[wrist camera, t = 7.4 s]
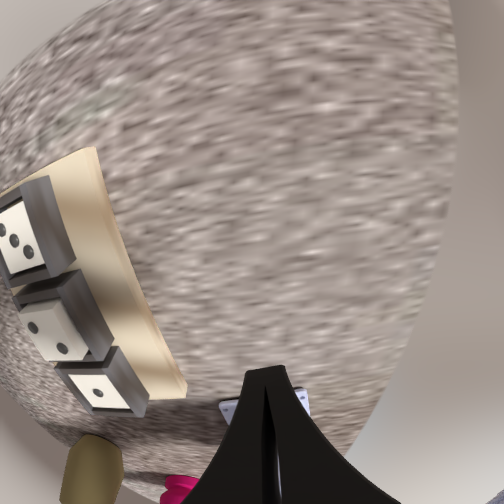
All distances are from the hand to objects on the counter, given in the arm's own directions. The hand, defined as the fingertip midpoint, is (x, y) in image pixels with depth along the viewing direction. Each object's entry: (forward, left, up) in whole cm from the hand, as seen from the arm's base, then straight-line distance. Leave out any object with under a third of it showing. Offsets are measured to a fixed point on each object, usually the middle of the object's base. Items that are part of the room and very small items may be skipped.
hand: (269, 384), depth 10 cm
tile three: (+7, +14, -8) cm, 17 cm away
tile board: (0, +14, -9) cm, 17 cm away
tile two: (0, +14, -7) cm, 15 cm away
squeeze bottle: (-22, +26, -10) cm, 35 cm away
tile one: (-6, +14, -8) cm, 17 cm away
